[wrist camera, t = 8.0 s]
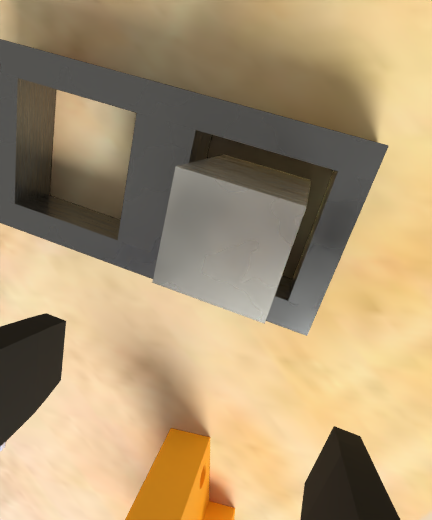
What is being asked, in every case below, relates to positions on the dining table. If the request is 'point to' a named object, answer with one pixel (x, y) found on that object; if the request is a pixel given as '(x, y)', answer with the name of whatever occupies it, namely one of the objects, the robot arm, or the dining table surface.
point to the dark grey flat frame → (165, 168)
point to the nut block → (230, 232)
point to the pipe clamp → (179, 483)
